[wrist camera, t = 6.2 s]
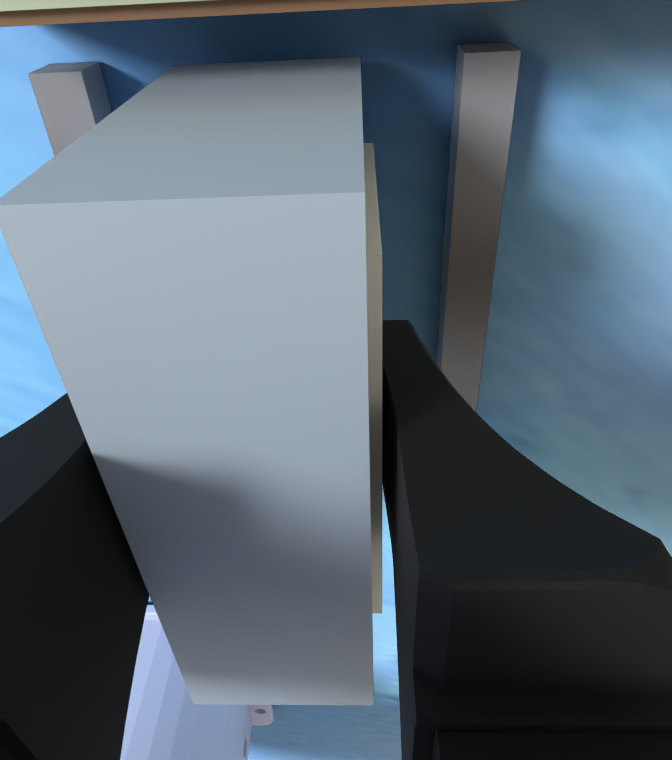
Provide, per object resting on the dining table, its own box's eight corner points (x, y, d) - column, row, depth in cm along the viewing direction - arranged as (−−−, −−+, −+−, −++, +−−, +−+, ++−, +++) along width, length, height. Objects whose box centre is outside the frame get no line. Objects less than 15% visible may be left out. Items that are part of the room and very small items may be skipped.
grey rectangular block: (374, 450, 17) (383, 705, 11) (246, 452, 17) (193, 704, 12) (371, 55, 11) (387, 191, 5) (173, 65, 11) (-9, 204, 6)
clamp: (766, 426, 17) (852, 531, 14) (145, 436, 18) (104, 537, 15) (1095, -207, 9) (1442, -269, 6) (-39, -134, 10) (-202, -158, 7)
